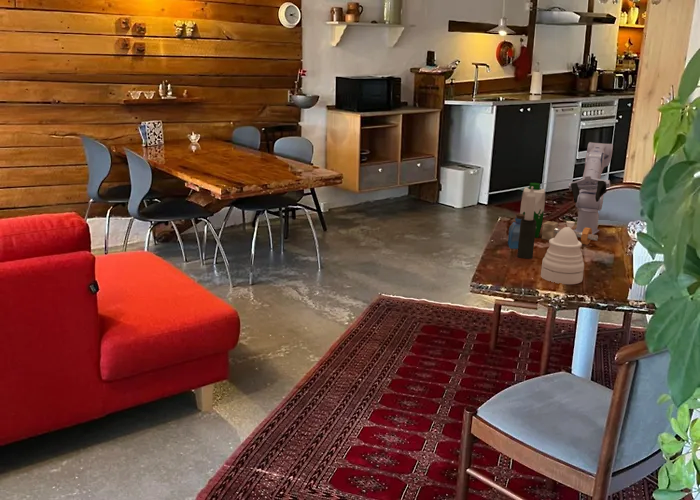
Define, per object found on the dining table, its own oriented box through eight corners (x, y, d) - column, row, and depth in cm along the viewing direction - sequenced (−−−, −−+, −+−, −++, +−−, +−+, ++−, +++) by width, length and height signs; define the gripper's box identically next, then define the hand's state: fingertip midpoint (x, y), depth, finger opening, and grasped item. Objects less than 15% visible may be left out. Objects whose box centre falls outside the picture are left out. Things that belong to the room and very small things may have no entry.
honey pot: (550, 268, 224) (556, 216, 219) (588, 277, 216) (596, 223, 211) (533, 277, 214) (540, 223, 209) (573, 287, 206) (580, 230, 201)
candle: (532, 259, 233) (540, 188, 226) (517, 257, 234) (524, 187, 227) (531, 254, 238) (539, 185, 231) (517, 253, 239) (524, 184, 232)
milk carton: (541, 233, 267) (547, 183, 261) (540, 239, 258) (546, 187, 253) (518, 230, 269) (523, 181, 263) (517, 236, 261) (522, 185, 255)
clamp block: (541, 238, 259) (543, 223, 257) (546, 235, 263) (548, 221, 261) (551, 240, 257) (553, 225, 255) (556, 237, 261) (558, 222, 259)
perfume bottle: (524, 244, 250) (527, 213, 247) (527, 249, 245) (530, 217, 241) (507, 243, 251) (510, 212, 247) (509, 248, 245) (513, 216, 242)
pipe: (543, 231, 259) (544, 226, 259) (545, 230, 261) (546, 225, 260) (596, 241, 248) (596, 235, 247) (597, 240, 250) (598, 234, 249)
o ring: (580, 244, 250) (582, 229, 248) (585, 241, 255) (587, 226, 253) (585, 246, 249) (587, 230, 247) (590, 242, 253) (592, 227, 252)
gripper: (569, 168, 255) (563, 193, 247) (609, 165, 247) (604, 191, 240) (573, 182, 260) (567, 207, 252) (612, 180, 252) (607, 205, 244)
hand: (585, 200), depth 246 cm, fingers open, 7 cm apart
